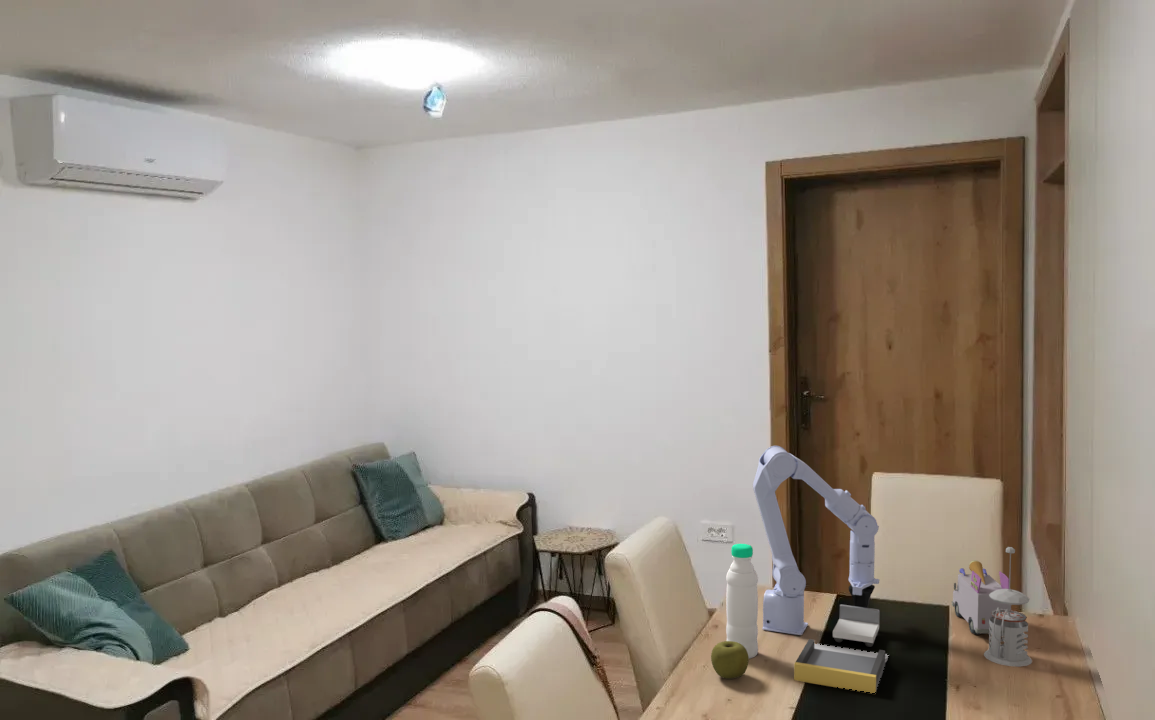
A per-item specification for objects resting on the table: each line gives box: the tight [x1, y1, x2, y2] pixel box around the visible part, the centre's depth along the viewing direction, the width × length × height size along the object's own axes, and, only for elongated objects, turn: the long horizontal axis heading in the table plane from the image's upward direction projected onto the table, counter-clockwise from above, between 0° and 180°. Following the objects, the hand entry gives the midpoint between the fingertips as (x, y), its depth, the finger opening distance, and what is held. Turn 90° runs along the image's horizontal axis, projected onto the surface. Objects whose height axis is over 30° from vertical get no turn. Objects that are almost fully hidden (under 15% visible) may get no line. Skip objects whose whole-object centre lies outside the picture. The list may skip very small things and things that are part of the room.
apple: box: [710, 640, 749, 680], centre depth 197 cm, size 8×8×7 cm
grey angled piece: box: [832, 604, 880, 648], centre depth 217 cm, size 9×10×6 cm
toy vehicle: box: [951, 560, 1012, 635], centre depth 224 cm, size 9×20×15 cm, turn 174°
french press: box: [983, 546, 1033, 668], centre depth 204 cm, size 10×12×25 cm
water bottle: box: [725, 543, 759, 659], centre depth 208 cm, size 7×7×25 cm
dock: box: [793, 638, 890, 694], centre depth 201 cm, size 16×22×4 cm
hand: (861, 615), depth 224 cm, fingers closed
